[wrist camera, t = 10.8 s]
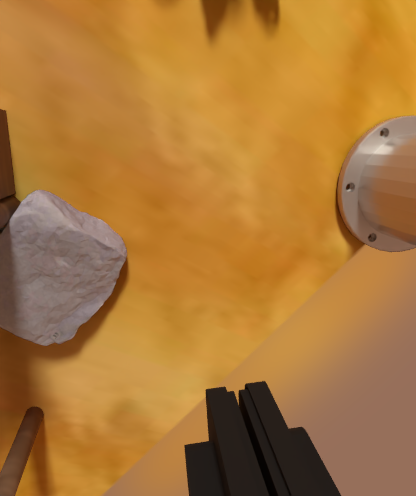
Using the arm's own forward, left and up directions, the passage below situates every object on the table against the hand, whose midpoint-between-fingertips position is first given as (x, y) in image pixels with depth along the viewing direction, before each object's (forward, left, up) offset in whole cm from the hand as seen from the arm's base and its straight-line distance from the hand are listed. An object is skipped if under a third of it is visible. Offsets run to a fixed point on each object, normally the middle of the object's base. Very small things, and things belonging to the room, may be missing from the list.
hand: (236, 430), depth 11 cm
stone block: (+10, +3, -26) cm, 28 cm away
